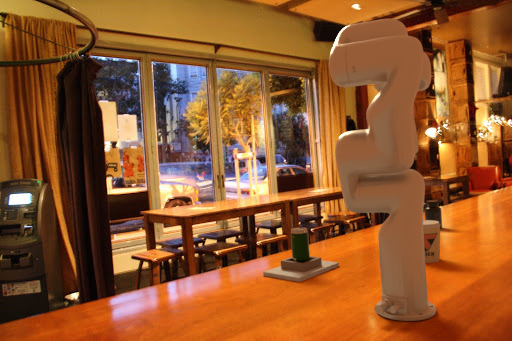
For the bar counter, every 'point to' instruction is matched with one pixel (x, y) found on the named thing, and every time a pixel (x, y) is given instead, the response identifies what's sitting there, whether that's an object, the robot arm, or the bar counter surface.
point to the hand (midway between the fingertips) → (403, 175)
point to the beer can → (300, 245)
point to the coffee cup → (431, 240)
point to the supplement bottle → (433, 212)
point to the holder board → (300, 269)
